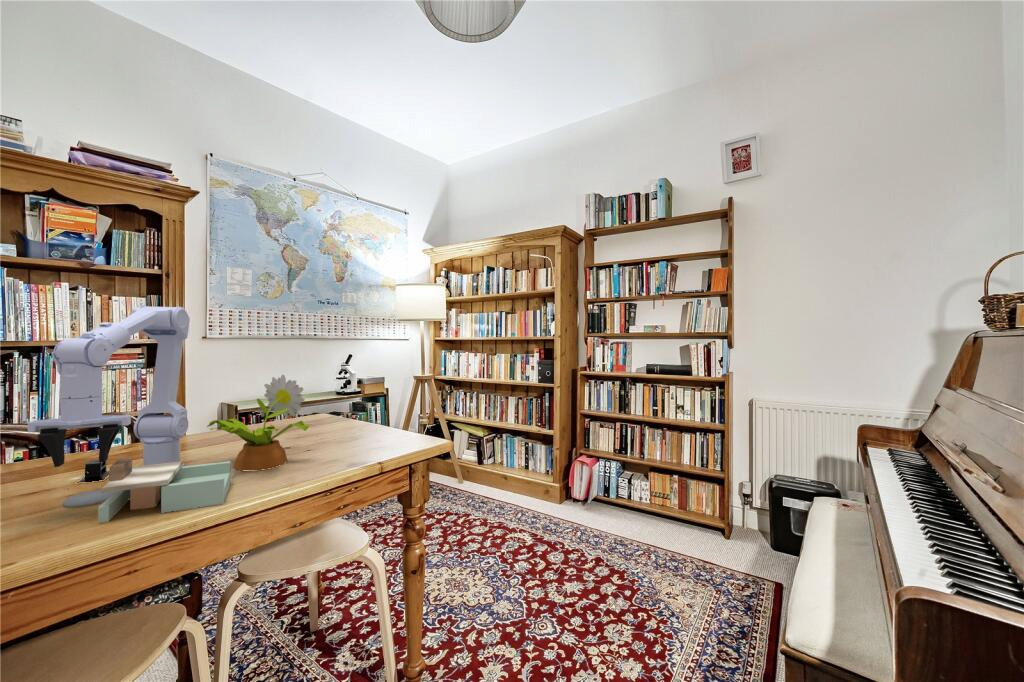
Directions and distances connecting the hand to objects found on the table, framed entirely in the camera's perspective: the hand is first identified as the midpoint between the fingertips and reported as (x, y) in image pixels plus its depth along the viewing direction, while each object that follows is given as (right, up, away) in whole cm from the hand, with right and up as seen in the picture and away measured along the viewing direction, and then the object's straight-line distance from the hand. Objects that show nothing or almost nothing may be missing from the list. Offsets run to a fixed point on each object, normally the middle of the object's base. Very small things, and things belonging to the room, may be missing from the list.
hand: (81, 463), depth 83 cm
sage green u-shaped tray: (+12, -11, +7) cm, 18 cm away
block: (+9, -11, +5) cm, 14 cm away
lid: (+9, -5, +5) cm, 11 cm away
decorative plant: (+15, -11, +33) cm, 37 cm away
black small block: (-19, -11, +21) cm, 30 cm away
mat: (-6, -10, +7) cm, 14 cm away
